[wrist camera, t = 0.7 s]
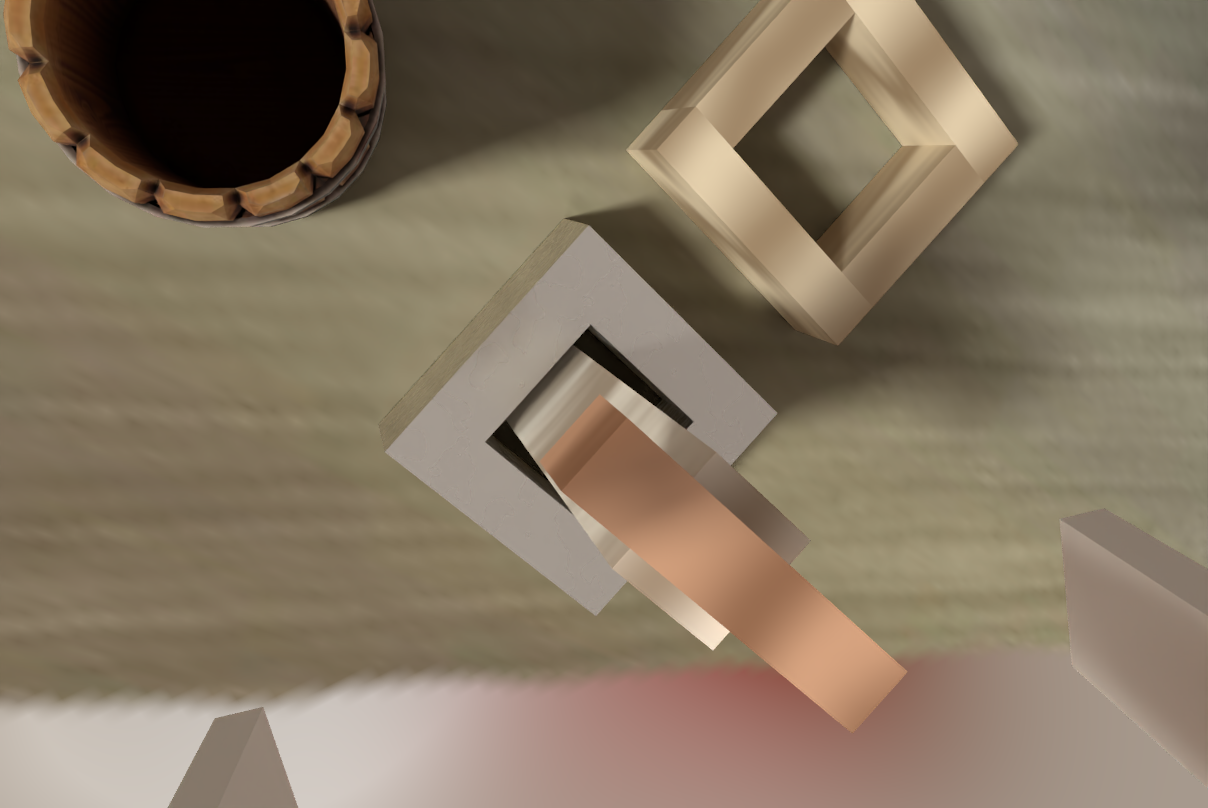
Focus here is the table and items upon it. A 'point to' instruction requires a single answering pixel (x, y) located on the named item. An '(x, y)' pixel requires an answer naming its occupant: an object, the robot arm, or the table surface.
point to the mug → (207, 100)
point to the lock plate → (515, 366)
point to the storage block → (883, 208)
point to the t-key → (695, 534)
